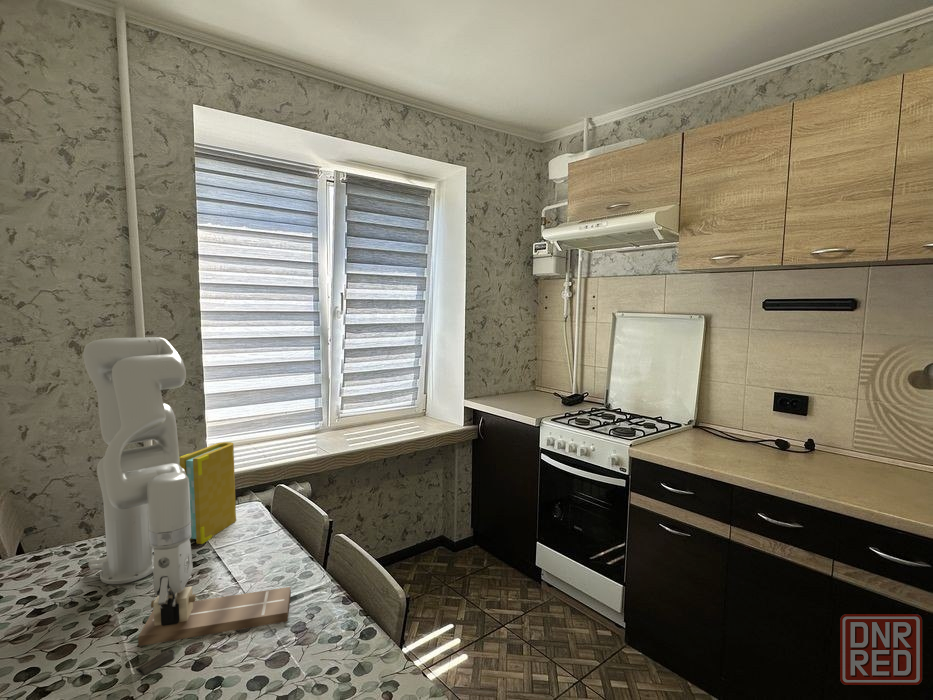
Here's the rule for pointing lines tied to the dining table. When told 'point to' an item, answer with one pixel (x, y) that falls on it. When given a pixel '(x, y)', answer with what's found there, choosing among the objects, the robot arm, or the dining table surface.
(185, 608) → the cream knobbed box
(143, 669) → the block
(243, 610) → the board
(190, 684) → the dining table surface
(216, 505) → the book
